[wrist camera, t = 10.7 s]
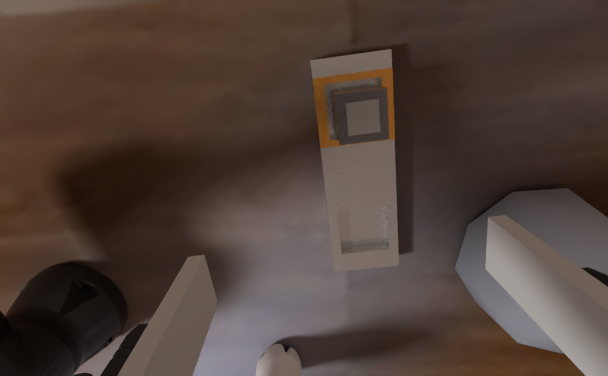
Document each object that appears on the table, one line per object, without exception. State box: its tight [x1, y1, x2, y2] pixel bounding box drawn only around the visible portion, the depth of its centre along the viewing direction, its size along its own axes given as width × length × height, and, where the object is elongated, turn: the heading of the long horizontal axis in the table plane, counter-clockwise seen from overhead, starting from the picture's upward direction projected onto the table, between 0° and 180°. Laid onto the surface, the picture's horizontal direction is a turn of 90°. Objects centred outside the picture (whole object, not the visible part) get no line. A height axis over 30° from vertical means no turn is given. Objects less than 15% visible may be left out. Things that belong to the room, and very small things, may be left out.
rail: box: [310, 49, 399, 272], centre depth 42 cm, size 9×28×3 cm, turn 7°
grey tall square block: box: [330, 84, 389, 145], centre depth 36 cm, size 5×5×8 cm
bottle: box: [455, 188, 608, 353], centre depth 38 cm, size 20×20×19 cm
